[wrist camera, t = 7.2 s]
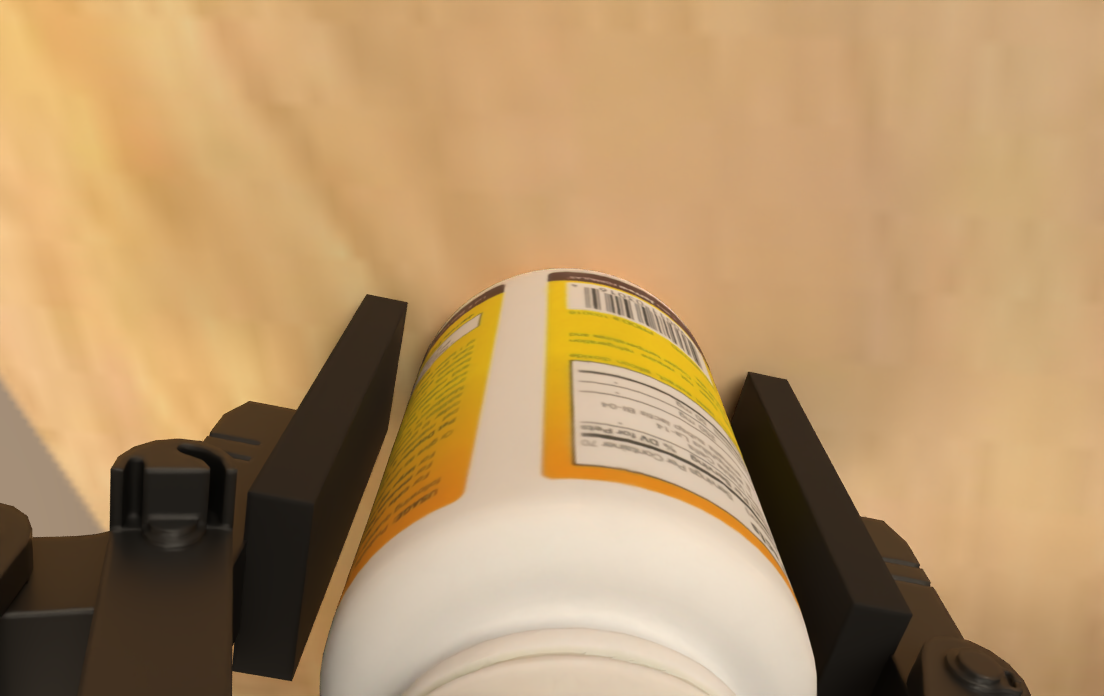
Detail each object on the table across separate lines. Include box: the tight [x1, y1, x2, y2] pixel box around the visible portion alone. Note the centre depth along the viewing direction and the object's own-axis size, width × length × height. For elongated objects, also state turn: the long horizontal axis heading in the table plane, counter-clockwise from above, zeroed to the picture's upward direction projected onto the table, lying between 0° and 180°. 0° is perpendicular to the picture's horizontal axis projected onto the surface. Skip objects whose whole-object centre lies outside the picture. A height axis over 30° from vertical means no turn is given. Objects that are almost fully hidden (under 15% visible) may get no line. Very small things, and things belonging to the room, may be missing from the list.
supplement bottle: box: [320, 268, 817, 696], centre depth 12 cm, size 6×6×10 cm
